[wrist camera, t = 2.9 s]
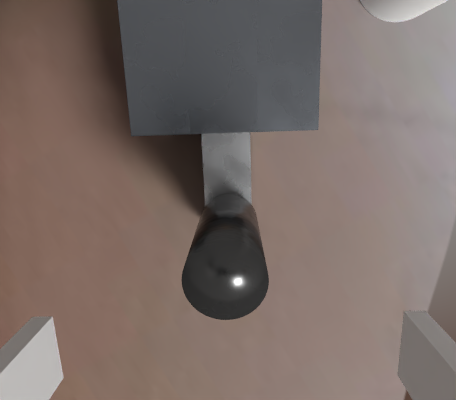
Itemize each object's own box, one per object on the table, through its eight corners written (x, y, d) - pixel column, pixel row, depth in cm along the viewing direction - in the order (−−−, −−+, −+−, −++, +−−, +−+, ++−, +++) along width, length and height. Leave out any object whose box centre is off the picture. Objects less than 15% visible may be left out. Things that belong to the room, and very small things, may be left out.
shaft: (187, -113, 25) (132, -369, 12) (248, -117, 25) (264, -378, 11) (206, 232, 31) (184, 320, 18) (254, 231, 31) (268, 318, 18)
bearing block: (147, 2, 28) (113, -41, 20) (298, -5, 27) (323, -51, 19) (158, 129, 30) (131, 136, 22) (296, 124, 30) (318, 129, 22)
